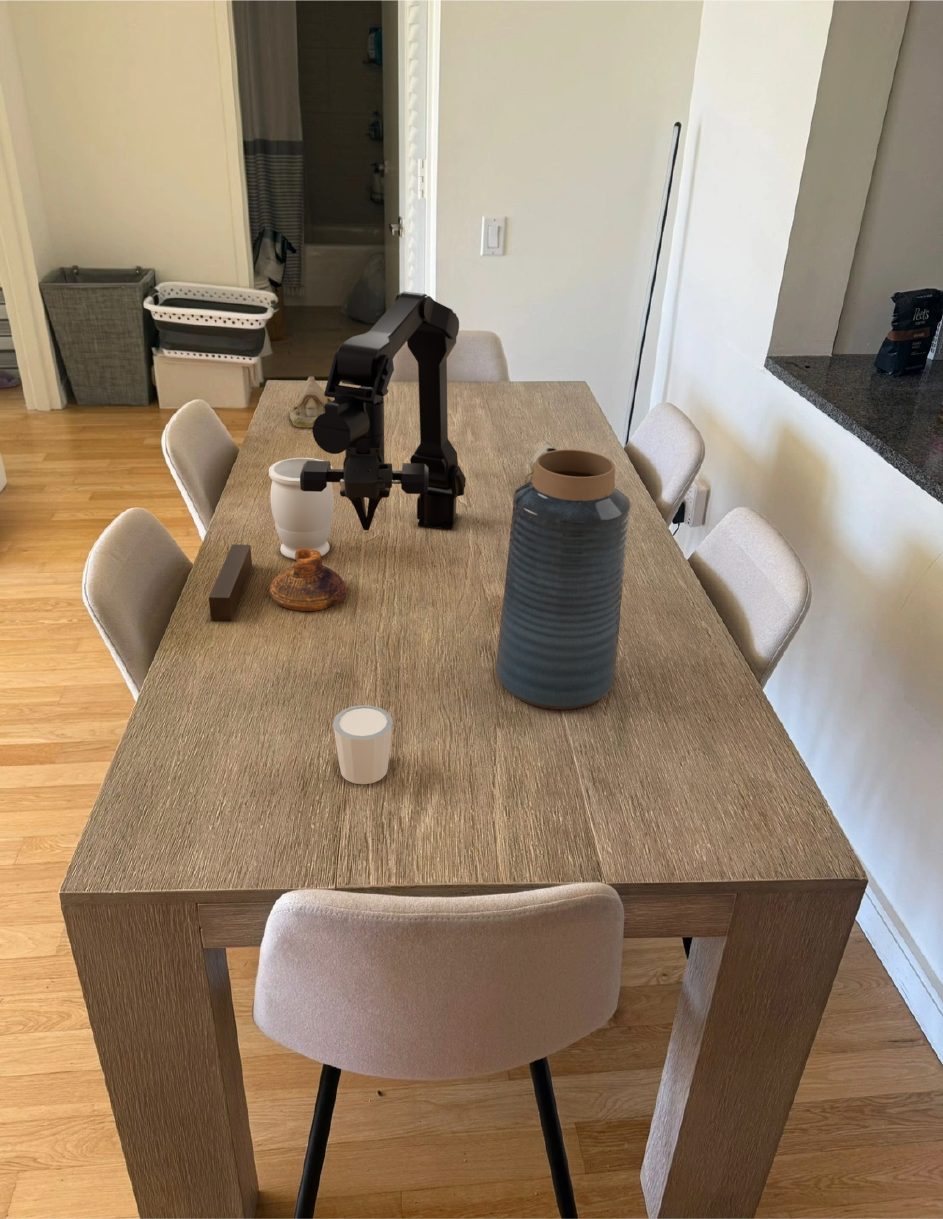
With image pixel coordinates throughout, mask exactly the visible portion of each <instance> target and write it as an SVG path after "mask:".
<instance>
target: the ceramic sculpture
mask: <svg viewBox="0 0 943 1219" xmlns="http://www.w3.org/2000/svg"><path fill="white" fill-rule="evenodd" d="M555 450H559V449H558V448H556V447H555V446H554V445H552V444H551V443H550V442H549V441H547V442H546V443H545V444H544V445H542V446H541V447H540V448H539V449H537V451H536V452H535V453H534V454H533V456H532V458H531V460H529V467H530V471H531V472H529V473H528V474H527V475H526V476H525V480H524V483H526V482H528V481H530V480H532V478H533V473H534V468H535V464H536V460H537V458H538V457H539V456H540V455H542V454H544V453H546V452H550V451H555Z"/></svg>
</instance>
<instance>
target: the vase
mask: <svg viewBox="0 0 943 1219" xmlns="http://www.w3.org/2000/svg"><path fill="white" fill-rule="evenodd" d="M615 469H616V468H615V464H614V462H613V460H611V459H610V458H608V457H606V456H604V455H602V454H599V453H596V452H592V451H588V450H580V449H558V450H555V451H550V452H546V453H544V454H542V455H540V456H539V457H538V458H537V460H536V464H535V468H534V473H533V478H532V480H530V481H528V482H526V483H525V482H524V483H522V484H520V485H519V486H518V487H517V488H516V489H515V491H514V492H513V496H512V497H513V498H512V499H513V500H512V510H511V512H512V514H511V522H510V531H509V540H508V541H509V542H508V553H507V562H506V570H505V571H506V572H505V581H504V590H503V600H502V606H501V616H500V626H499V633H498V634H499V636H498V644H497V654H496V655H497V656H496V661H495V662H496V663H495V672H496V676H497V679H498V681H499V682H500V684H501V685H502V686H503V688H504V689H505V690H507V691H508V692H509V693H510V694H511V695H512V696H513V697H515V698H516V699H518V700H520V701H522V702H524V703H526V704H529V705H532V706H535V707H538V708H543V709H549V710H572V709H573V710H574V709H579V708H584V707H587V706H589V705H591V704H594V703H596V702H597V701H599V700H601V699H602V698H603V697H606V695H607V694H608V693H610V691H611V689H612V688H613V686H614V683H615V679H616V669H617V665H616V664H617V658H618V647H619V635H620V625H621V607H622V597H623V595H622V594H623V585H624V576H625V575H624V574H625V565H626V564H625V563H626V553H627V543H628V542H627V540H628V530H629V521H630V511H631V500H630V499H629V497H628V496H627V494H625V492H623V491H622V490H621V489H620V488H619V487H618V486H616V474H615V473H616V470H615Z"/></svg>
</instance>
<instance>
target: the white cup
mask: <svg viewBox="0 0 943 1219" xmlns="http://www.w3.org/2000/svg"><path fill="white" fill-rule="evenodd" d="M393 723H394V721H393V718H392V715H391V714H390V713H389V712H388V711H387V710H386V709H384V708H381V707H378V706H376V705H370V704H360V705H359V704H358V705H352V706H349V707H347V708H344V709H342V710H341V711H340V712H338V714H336V715H335V717H334V719H333V721H332V726H333V732H334V738H335V739H334V740H335V744H336V745H335V746H336V751H337V757H338V765H339V770H340V774H341V776H342V777H343V778H344V779H345V780H346V781H347V782H350V783H352V784H355V785H356V784H357V785H369V784H375V783H376V782H378V781H381V780H382V779H383V778H384V777H385V776H386V775H387V773H388V769H389V762H390V754H391V753H390V751H391V743H392V733H393Z"/></svg>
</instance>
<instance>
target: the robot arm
mask: <svg viewBox="0 0 943 1219" xmlns="http://www.w3.org/2000/svg"><path fill="white" fill-rule="evenodd" d="M394 299H395V300H394V303H393V304H392V305H391V306H390V307H389V308H388V309H387V310H386V311H385V313H384V314H383V315H382V316H381V317H380V318H379V319H378V321H377V322H376V323H374V325H373V326H372V327H371V328H370V330H369V331H366V332H365V333H362V334H357V335H353V336H351V337H350V338H348V339H346V340H345V341H344V342H342V343H341V344H340V346H339V347H338V349H337V350H336V351H335V353H334V356H333V360H332V363H331V368H330V371H329V375H328V377H327V378H328V379H327V381H326V385H325V389H324V391H325V393H324V395H325V396H326V397H331V398H333V399H334V401H330V402H328V403H326V404H325V412H324V413H322V414H321V415H319V416H318V417H317V418H316V420H315V422H314V425H313V427H311V428H312V429H311V430H312V431H311V432H312V436H313V440H314V442H315V443H316V445H317V446H318V447H319V448H320V449H321V450H322V451H323V452H326V453H328V454H331V455H338V454H341V453H344V452H345V456H344V459H343V463H342V466H343V467H342V468H341V469H340V468H332V469H331V466H332V464H331V461H330V460H323V461H307V462H306V463H305V464H304V465H303V468H302V471H301V474H300V489H301V490H302V491H313V492H322V491H323V490H324V489H325V488H326V487H327V482H331V483H339V486H340V490H339V495H340V497H342V498H347V499H348V500H349V501H350V503H351V504H352V506H353V508H354V510H355V512H356V515H357V517H358V519H359V523H360V525H361V527H362V530H363V531H370V528H371V526H372V522H373V519H374V517H375V513H376V511H377V509H378V506H379V504H380V502H381V501H382V499H384V498H385V499H387V498H389V497H390V494H391V493H390V492H391V489H392V488H393V485H400V486H401V487H400V488H401V490H402V491H403V492H404V493H405V494H407V495H418V496H417V498H416V519H417V520H418V522H417V527H422V528H431V529H440V530H453V529H454V526H455V524H456V523H457V522H456V521H457V519H458V516H459V514H458V513H457V498H458V497H462V496H464V495H465V488H466V481H467V478H466V476H465V474H464V472H463V470H462V469H461V466H460V465H459V460H458V451H457V450H456V449H455V447H454V445H453V444H452V443H451V441H450V439H449V433H448V432H449V427H448V426H449V424H448V422H449V421H448V420H449V419H448V357H449V356H450V354H451V352H452V351H453V350H454V348H455V346H456V344H457V337H458V334H459V330H460V319H459V317H458V316H457V313H456V312H454V311H453V309H452V308H450V307H447V306H446V305H444V304H442V303H439V302H438V301H436V300H434V299H433V298H432V297H431V296H430V295H428V294H426V293H422V292H421V293H420V292H411V291H402V292H398V293H397V295H396V297H395V298H394ZM405 344H406V345H407V348H408V350H409V351H410V353H411V354H412V356H413V357H414V359H415V360H416V362H417V376H418V405H419V411H418V412H419V435H420V437H419V440H420V442H419V445H418V446H417V448H416V450H415V451H414V452H413V454H412V455H411V457H410V459H409V461H410V462H403V463H402V465H401V470H393V463H391V462H389V463H386V462H385V399H384V398H385V396H386V395H388V393H389V389H388V386H389V384H390V381H391V378H392V375H393V373H394V371H395V366H394V365H395V364H394V358H395V356H396V355H397V353H398V352H399V351H401V349H402V348H403V346H404V345H405ZM340 383H341V384H344V385H341V384H340ZM349 385H351V386H349ZM356 386H358V387H356ZM365 499H368V504H367V507H366V500H365ZM366 508H367V509H366Z"/></svg>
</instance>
